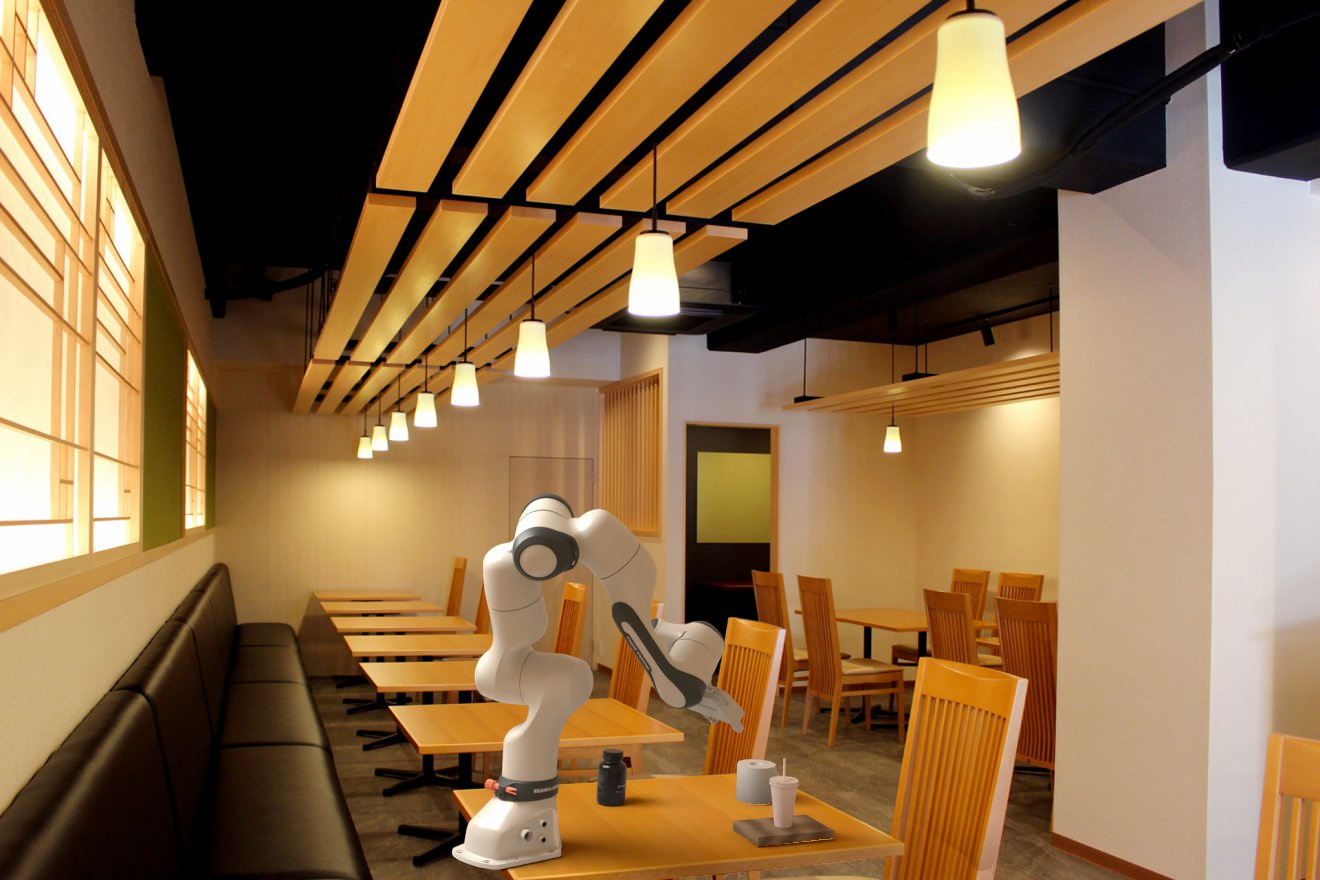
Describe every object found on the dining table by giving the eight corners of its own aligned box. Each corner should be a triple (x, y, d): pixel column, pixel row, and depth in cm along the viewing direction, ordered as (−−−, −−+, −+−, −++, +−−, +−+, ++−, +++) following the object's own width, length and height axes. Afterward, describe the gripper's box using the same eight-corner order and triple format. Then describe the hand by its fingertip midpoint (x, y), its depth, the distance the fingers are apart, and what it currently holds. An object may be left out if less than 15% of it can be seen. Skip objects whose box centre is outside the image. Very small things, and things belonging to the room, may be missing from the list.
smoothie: (797, 822, 230) (799, 756, 230) (798, 830, 223) (800, 763, 224) (767, 820, 230) (769, 754, 231) (768, 828, 224) (769, 761, 225)
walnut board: (758, 847, 218) (758, 837, 218) (732, 830, 229) (733, 820, 229) (833, 839, 224) (834, 830, 224) (805, 823, 235) (805, 814, 235)
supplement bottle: (624, 807, 243) (626, 754, 244) (595, 806, 243) (597, 753, 244) (626, 799, 250) (628, 747, 251) (597, 798, 250) (599, 746, 251)
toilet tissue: (793, 798, 256) (794, 762, 256) (756, 807, 247) (757, 770, 247) (765, 790, 262) (766, 755, 263) (728, 799, 254) (729, 762, 254)
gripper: (726, 678, 213) (765, 724, 217) (675, 663, 231) (712, 705, 235) (707, 702, 210) (746, 748, 215) (657, 685, 228) (694, 727, 232)
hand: (728, 725), depth 225 cm, fingers open, 8 cm apart
